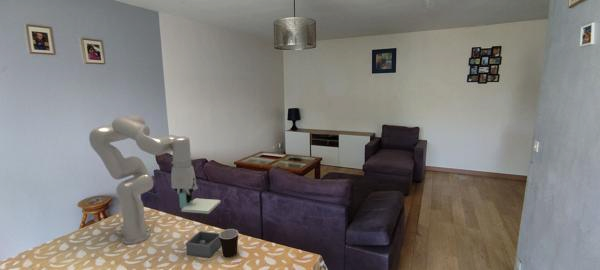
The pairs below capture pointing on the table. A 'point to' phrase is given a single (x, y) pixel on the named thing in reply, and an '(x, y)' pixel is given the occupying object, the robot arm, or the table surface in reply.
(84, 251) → the table surface
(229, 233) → the coffee mug
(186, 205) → the board with teal handle
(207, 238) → the tub
